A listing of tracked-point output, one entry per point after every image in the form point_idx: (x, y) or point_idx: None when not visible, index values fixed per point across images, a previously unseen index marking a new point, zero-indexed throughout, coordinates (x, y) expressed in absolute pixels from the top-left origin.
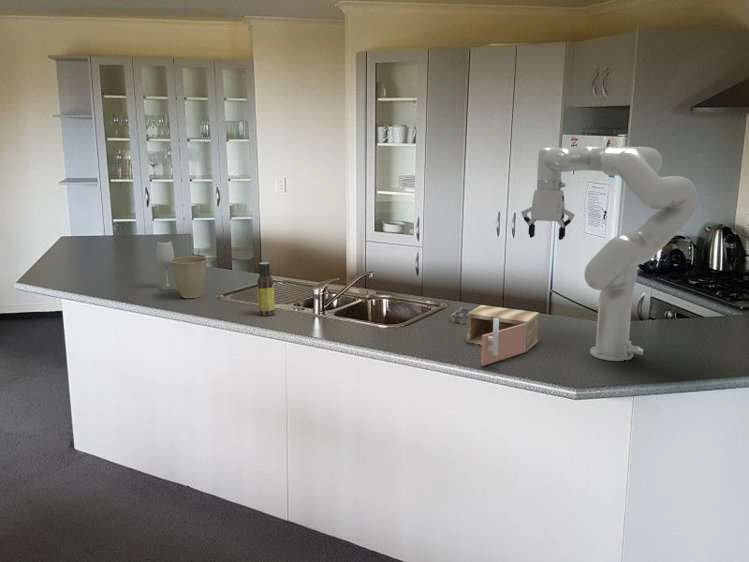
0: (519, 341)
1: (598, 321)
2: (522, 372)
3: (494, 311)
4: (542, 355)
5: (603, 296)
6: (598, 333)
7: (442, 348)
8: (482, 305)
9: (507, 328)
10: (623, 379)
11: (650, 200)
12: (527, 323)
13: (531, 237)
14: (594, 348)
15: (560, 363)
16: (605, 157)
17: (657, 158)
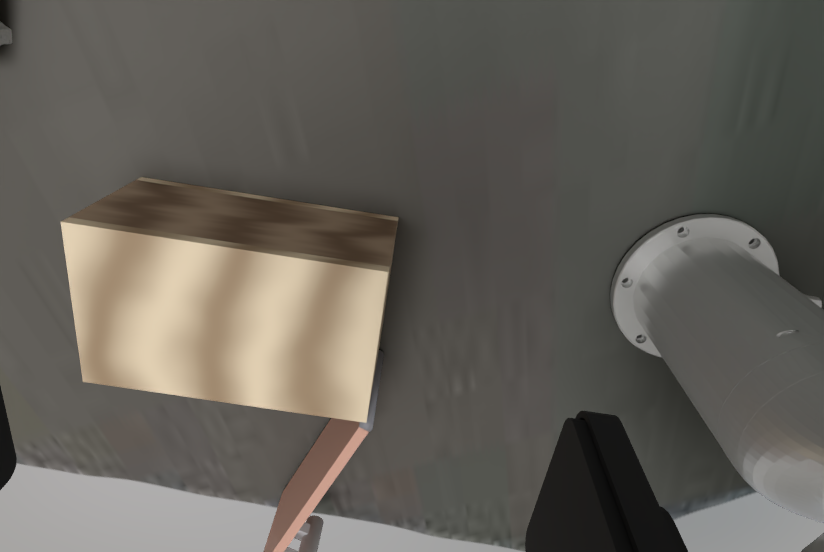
0: None
1: (684, 386)
2: (405, 499)
3: (178, 319)
4: (440, 359)
5: (766, 493)
6: (665, 361)
7: (107, 388)
8: (70, 228)
9: (312, 499)
10: (688, 476)
11: None
12: (370, 425)
13: (7, 451)
14: (631, 278)
15: (505, 411)
16: None
17: None
